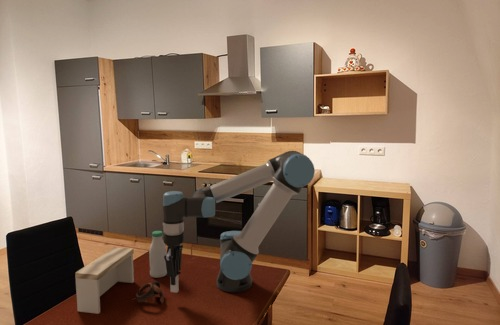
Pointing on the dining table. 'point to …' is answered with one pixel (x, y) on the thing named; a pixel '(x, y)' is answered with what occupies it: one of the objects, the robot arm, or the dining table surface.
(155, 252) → the milk bottle
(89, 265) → the small wooden bench
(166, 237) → the robot arm
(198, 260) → the dining table surface
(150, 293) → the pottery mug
